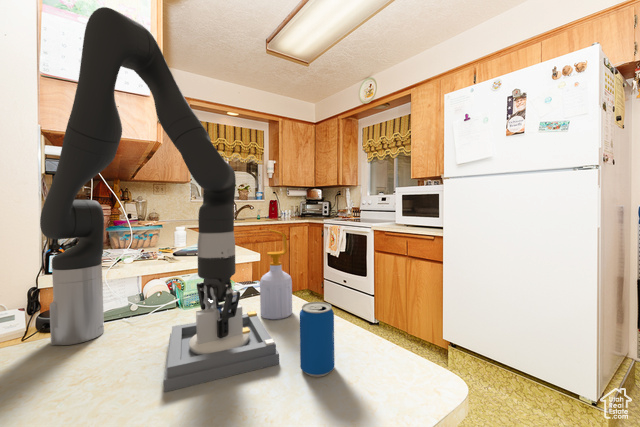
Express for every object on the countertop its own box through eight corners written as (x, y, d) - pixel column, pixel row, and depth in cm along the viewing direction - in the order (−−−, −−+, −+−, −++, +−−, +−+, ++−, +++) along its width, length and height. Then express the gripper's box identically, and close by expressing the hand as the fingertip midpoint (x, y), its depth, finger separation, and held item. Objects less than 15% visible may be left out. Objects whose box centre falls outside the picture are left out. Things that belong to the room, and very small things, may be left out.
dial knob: (193, 362, 54) (192, 324, 54) (186, 337, 64) (185, 305, 64) (257, 345, 60) (256, 312, 60) (241, 325, 70) (241, 296, 70)
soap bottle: (259, 310, 87) (257, 228, 86) (289, 307, 89) (287, 227, 89) (262, 322, 78) (260, 230, 77) (295, 317, 81) (294, 229, 80)
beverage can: (331, 381, 51) (330, 313, 51) (296, 377, 53) (295, 311, 52) (336, 361, 58) (336, 301, 57) (305, 358, 59) (304, 300, 59)
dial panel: (164, 392, 49) (163, 366, 49) (170, 342, 67) (169, 323, 67) (279, 363, 57) (278, 342, 57) (256, 326, 75) (256, 309, 75)
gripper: (183, 252, 63) (184, 330, 63) (218, 259, 54) (219, 351, 54) (215, 248, 69) (216, 320, 69) (251, 254, 60) (252, 337, 60)
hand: (217, 333), depth 62 cm, fingers closed on dial knob, 3 cm apart
